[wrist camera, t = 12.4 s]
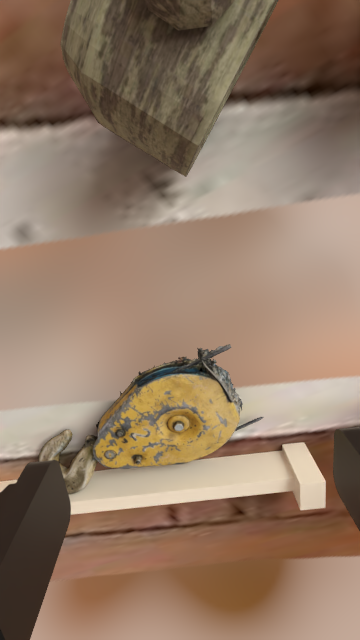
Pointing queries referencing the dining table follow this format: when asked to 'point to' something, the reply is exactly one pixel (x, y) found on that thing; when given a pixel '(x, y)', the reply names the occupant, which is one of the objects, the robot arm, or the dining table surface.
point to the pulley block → (158, 421)
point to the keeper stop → (204, 481)
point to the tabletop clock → (161, 66)
